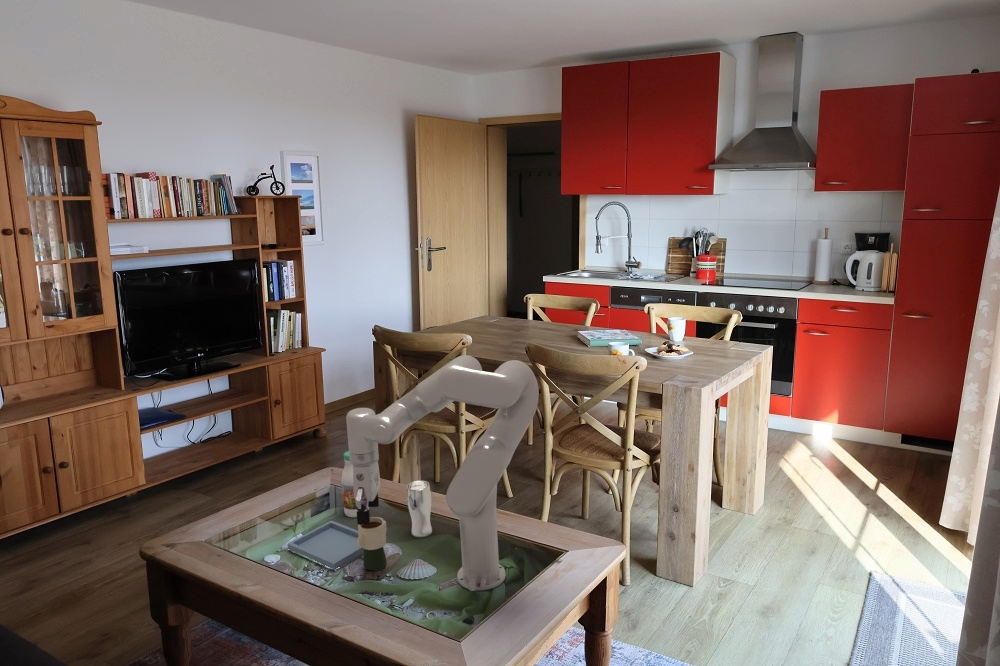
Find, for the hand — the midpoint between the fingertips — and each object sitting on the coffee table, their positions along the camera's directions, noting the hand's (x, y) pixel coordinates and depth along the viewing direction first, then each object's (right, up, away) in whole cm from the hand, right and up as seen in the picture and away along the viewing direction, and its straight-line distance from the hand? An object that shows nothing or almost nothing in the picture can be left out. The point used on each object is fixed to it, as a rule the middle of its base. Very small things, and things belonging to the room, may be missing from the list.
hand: (368, 515), depth 194 cm
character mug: (+1, -15, +3) cm, 15 cm away
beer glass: (+12, -10, +21) cm, 26 cm away
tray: (-13, -13, +14) cm, 23 cm away
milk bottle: (-10, -8, +35) cm, 37 cm away
